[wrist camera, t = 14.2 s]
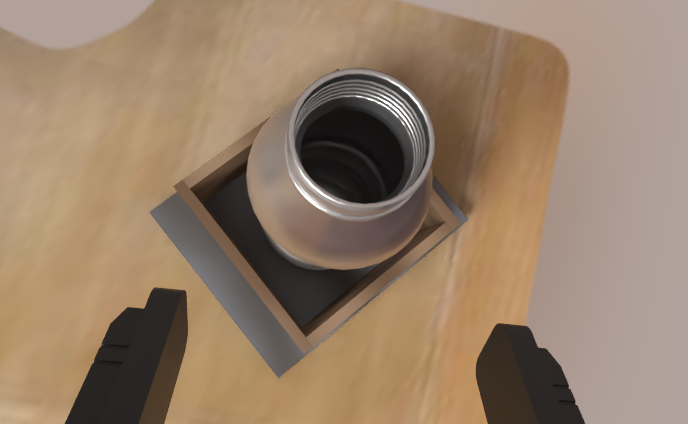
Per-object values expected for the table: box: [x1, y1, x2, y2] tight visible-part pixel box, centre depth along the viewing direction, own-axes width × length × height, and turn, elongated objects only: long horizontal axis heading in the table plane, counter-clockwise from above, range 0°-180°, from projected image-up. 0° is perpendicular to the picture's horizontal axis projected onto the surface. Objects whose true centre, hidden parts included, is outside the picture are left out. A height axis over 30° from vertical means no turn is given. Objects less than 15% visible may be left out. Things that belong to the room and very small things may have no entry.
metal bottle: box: [246, 68, 435, 270], centre depth 22 cm, size 6×7×20 cm
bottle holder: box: [150, 69, 468, 378], centre depth 30 cm, size 16×13×6 cm
